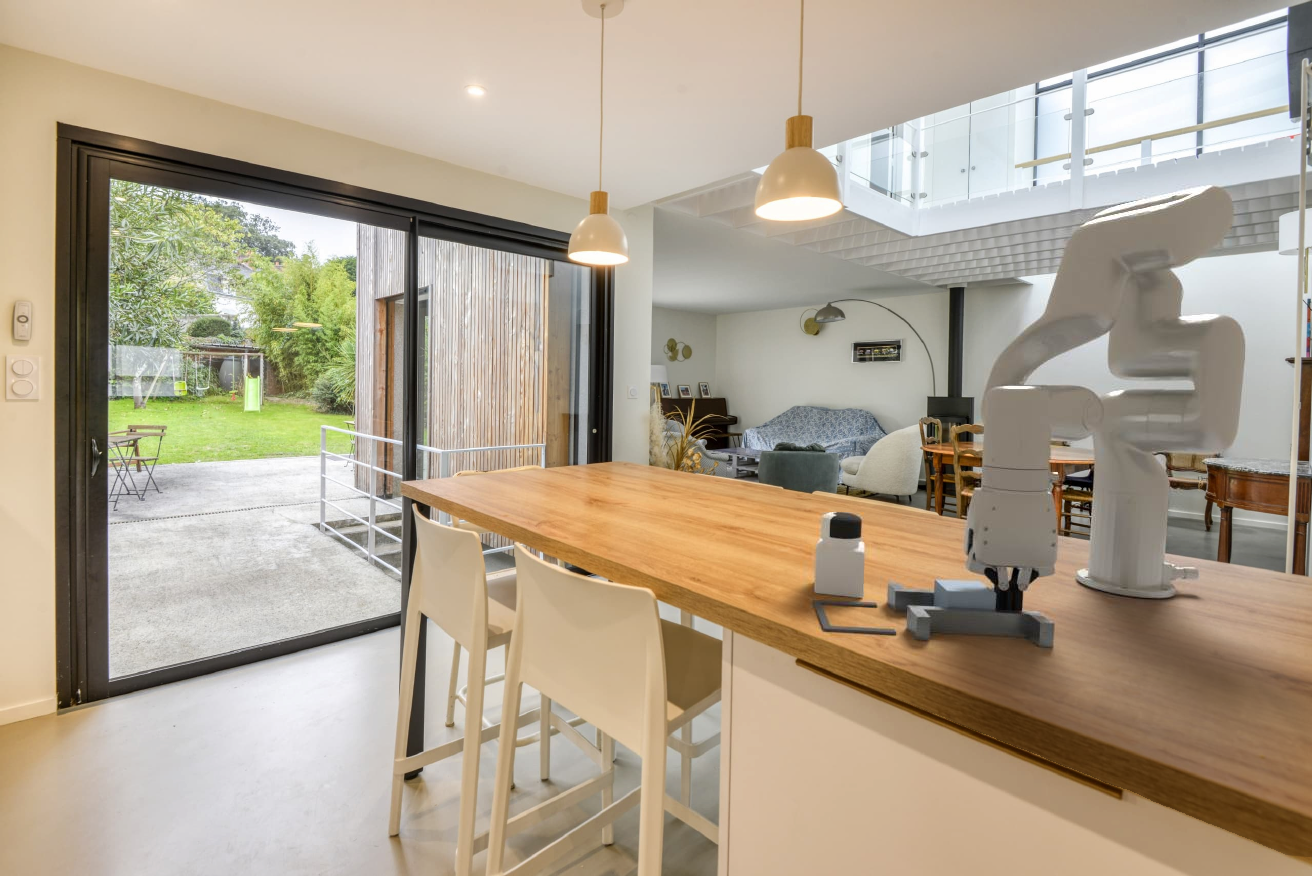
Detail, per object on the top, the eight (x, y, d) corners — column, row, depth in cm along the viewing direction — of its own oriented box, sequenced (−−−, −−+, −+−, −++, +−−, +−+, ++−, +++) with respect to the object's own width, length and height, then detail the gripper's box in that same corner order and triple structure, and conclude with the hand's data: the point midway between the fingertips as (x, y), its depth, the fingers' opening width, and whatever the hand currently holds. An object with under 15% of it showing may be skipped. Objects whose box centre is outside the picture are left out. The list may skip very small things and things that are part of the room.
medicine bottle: (863, 584, 96) (865, 511, 96) (863, 599, 90) (865, 520, 89) (817, 580, 99) (819, 508, 98) (814, 593, 92) (816, 516, 91)
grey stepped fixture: (1002, 607, 86) (1003, 587, 86) (1053, 647, 73) (1054, 623, 73) (887, 601, 88) (887, 582, 88) (915, 639, 75) (916, 616, 75)
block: (978, 616, 83) (980, 581, 82) (994, 630, 78) (996, 593, 78) (933, 614, 84) (934, 579, 83) (945, 628, 79) (947, 591, 78)
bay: (875, 604, 87) (875, 602, 87) (896, 634, 76) (896, 632, 76) (812, 601, 88) (812, 599, 88) (823, 630, 78) (824, 628, 78)
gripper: (1059, 477, 81) (1051, 609, 83) (944, 475, 83) (938, 604, 84) (1092, 486, 74) (1083, 630, 75) (965, 483, 76) (959, 624, 77)
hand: (1007, 616), depth 80 cm, fingers closed
